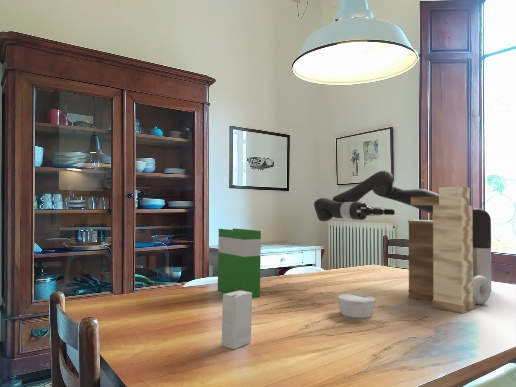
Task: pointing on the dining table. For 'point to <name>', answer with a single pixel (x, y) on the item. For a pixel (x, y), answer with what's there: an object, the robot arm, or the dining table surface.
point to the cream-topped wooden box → (421, 259)
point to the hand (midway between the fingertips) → (388, 212)
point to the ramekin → (356, 305)
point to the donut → (480, 289)
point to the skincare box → (236, 319)
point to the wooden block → (453, 258)
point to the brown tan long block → (446, 197)
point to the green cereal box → (239, 261)
